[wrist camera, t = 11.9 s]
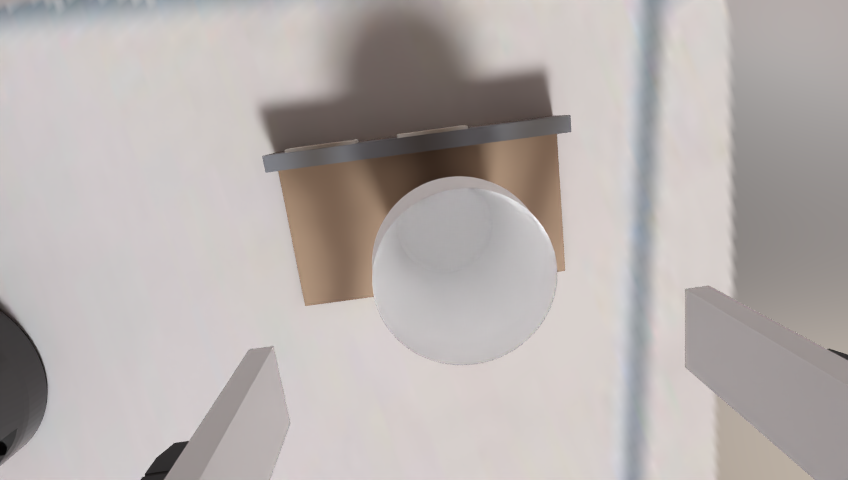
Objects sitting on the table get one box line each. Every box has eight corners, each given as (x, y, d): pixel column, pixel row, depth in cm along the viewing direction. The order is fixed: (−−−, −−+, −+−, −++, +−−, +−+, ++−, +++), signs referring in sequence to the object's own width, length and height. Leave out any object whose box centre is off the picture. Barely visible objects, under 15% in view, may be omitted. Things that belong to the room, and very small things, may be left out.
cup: (479, 139, 33) (519, 150, 22) (527, 256, 35) (587, 324, 24) (358, 194, 34) (334, 234, 22) (412, 306, 36) (416, 396, 24)
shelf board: (306, 302, 36) (296, 322, 33) (276, 149, 33) (261, 152, 30) (562, 268, 36) (579, 284, 33) (552, 112, 34) (570, 112, 30)
